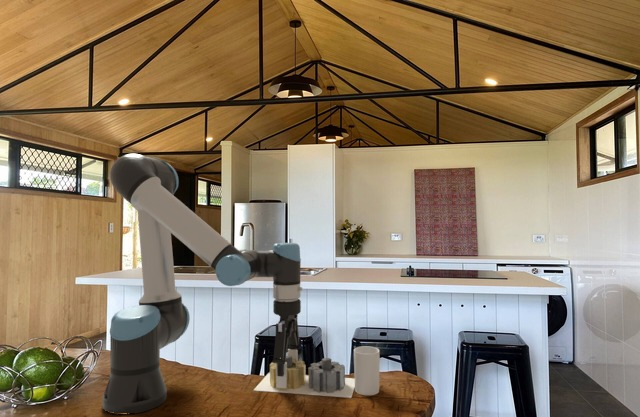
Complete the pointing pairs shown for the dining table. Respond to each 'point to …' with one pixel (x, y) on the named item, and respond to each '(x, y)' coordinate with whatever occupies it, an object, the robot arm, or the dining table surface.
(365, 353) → the mug
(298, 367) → the gear
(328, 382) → the gear
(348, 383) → the board
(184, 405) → the dining table surface
